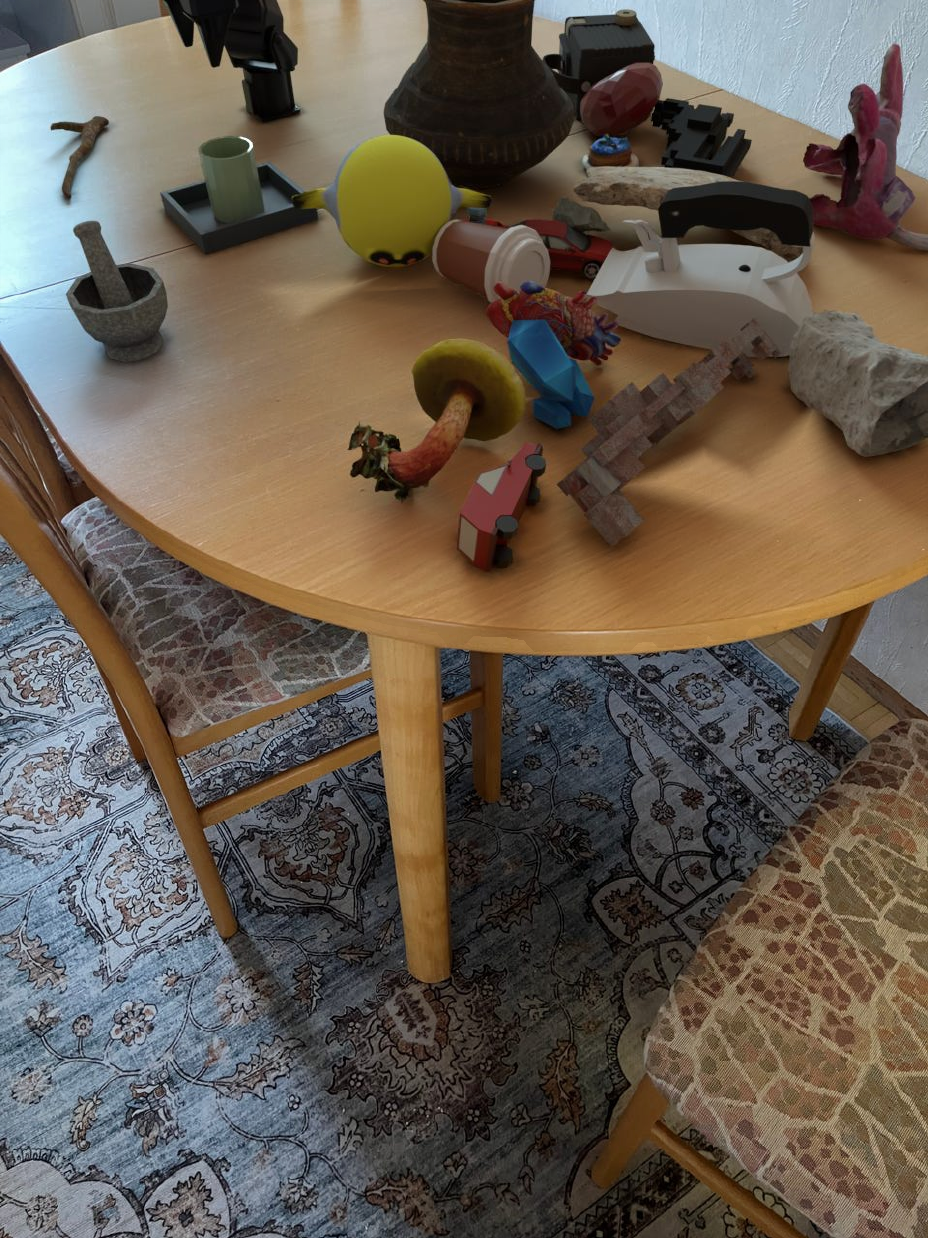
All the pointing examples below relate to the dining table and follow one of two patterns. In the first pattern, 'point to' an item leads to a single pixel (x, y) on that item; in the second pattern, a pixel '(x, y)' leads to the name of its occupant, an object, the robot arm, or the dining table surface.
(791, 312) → the iron
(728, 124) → the tool
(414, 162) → the toy
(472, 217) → the button
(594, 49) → the camera
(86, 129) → the branch
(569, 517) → the dining table surface
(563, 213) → the stone
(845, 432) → the decorative stone
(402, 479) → the mushroom
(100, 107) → the dining table surface
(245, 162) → the cup
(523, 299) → the anatomical model
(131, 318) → the mortar and pestle
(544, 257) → the coffee cup
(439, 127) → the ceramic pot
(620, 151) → the dessert
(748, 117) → the dining table surface
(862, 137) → the toy
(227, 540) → the dining table surface
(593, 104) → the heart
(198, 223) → the tray
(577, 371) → the crystal
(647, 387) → the sculpture
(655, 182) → the stone fragment
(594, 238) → the toy car
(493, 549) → the toy truck
